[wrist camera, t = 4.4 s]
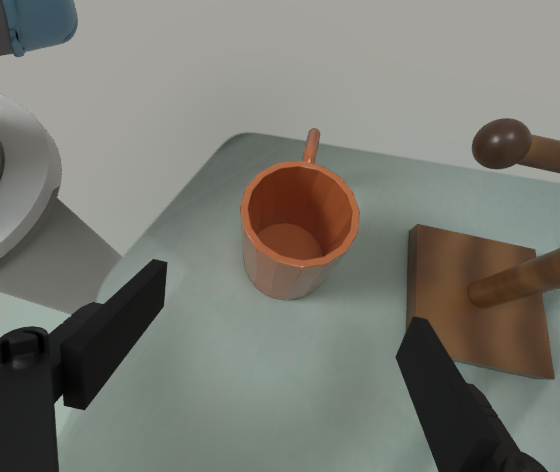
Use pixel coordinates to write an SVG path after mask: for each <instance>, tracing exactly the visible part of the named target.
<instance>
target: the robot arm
mask: <svg viewBox="0 0 560 472" xmlns="http://www.w3.org/2000/svg"><path fill="white" fill-rule="evenodd" d="M77 25H78V19H77V13H76V8H75V4H74V1H73V0H0V56H1V55H7V54H14V56H16V57H21V56H23V55H24V53H25V52H26V51H31V50H36V49H40V48H45V47H49V46H54V45H59V44H62V43H65V42H67V41H69V40H70V39H71V38H72V37H73V36H74V34H75V32H76V29H77ZM4 165H5V154H4V149H3V146H2V143H1V141H0V180H1V177H2V175H3V171H4ZM166 274H167V262H164V261H160V260H155V259H153V260H152V261H150V262H149V263H148V264H147V265H146V266H145V267H144V268H143V269H142V270H141V271H140V272H138V273H137V274H136V275H135V276H134V277H133V278H132V279H131V280H130V281H129V282H127V283H126V284H125V285H124V286H123V287H122V288H121V289H120V290H119V291H118V292H117V293H115V294H114V295H113V296H112V297H111V298H110V299H109V300H108V301H107V302H106V303H105V304H100V303H95V302H92V303H90V304H88V305H85V306H83V307H81V308H80V309H78V310H77V311H76V312H75V313H74V314H72V315H71V317H69V318H68V319H66V320H65V321H64V322H63V324H60V325H59V326H58V327H57V328H56V329H54V330H53V331H52V332H51V333H50V334H48V333H47V331H46V330H45V329H43V328H40V327H34V326H33V327H22V328H19V329H15V330H12V331H10V332H8V333H6V334H4V335H3V336H2V337H1V338H0V472H59V462H58V449H57V435H56V421H55V409H54V404H55V402H56V401H57V400H58V399H59V398H60V397H61V396H62V395H63V401H64V406H68V407H72V408H77V409H81V410H85V409H86V408H87V407H88V405H89V404H90V403H91V401H92V400H93V399H94V398H95V396H96V395H97V394H98V392H99V391H100V390H101V388H102V387H103V386H104V384H105V383H106V382H107V380H108V379H109V378H110V376H111V375H112V374H113V372H114V371H115V370H116V369H117V367H118V366H119V365H120V363H121V362H122V361H123V359H124V358H125V357H126V355H127V354H128V353H129V351H130V350H131V349H132V347H133V346H134V345H135V344H136V342H137V341H138V340H139V338H140V337H141V336H142V334H143V333H144V332H145V330H146V329H147V328H148V326H149V325H150V324H151V322H152V321H153V320H154V319H155V317H156V316H157V315H158V313H159V312H160V311H161V309H162V308H163V307H164V299H165V286H166ZM396 359H397V362H398V365H399V367H400V370H401V373H402V375H403V378H404V381H405V383H406V386H407V389H408V391H409V394H410V397H411V399H412V402H413V405H414V407H415V410H416V413H417V415H418V418H419V421H420V423H421V426H422V428H423V431H424V434H425V436H426V439H427V442H428V444H429V447H430V450H431V452H432V455H433V458H434V460H435V463H436V466H437V468H438V471H439V472H548V471H547V470H546V469H545V468H544V467H543V466H542V465H541V464H540V463H539V462H538V461H536V460H535V459H534V458H533V457H531V456H529V455H527V454H526V453H523V452H521V451H520V450H519V448H518V446H517V445H516V443H515V442H514V440H513V439H512V437H511V436H510V434H509V433H508V431H507V429H506V428H505V426H504V425H503V423H502V422H501V420H500V419H499V418H498V416H497V414H496V412H495V411H494V409H492V406H491V405H490V403H489V402H488V400H487V398H486V397H485V395H484V394H483V393H482V392H481V391H479V390H478V389H477V388H476V387H475V386H474V385H473V384H468V383H466V382H465V380H464V379H463V377H462V375H461V374H460V372H459V370H458V369H457V367H456V365H455V364H454V362H453V361H452V359H451V357H450V356H449V354H448V352H447V351H446V349H445V347H444V346H443V344H442V342H441V341H440V339H439V337H438V336H437V334H436V333H435V331H434V329H433V328H432V326H431V324H430V323H429V321H428V319H425V318H420V317H415V316H413V317H412V320H411V322H410V324H409V327H408V329H407V331H406V334H405V336H404V338H403V341H402V343H401V345H400V348H399V350H398V352H397V355H396Z"/></svg>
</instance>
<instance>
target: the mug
mask: <svg viewBox="0 0 560 472" xmlns="http://www.w3.org/2000/svg"><path fill="white" fill-rule="evenodd" d="M319 138H320V132H319V130H318V129H316V128H313V129H311V130H310V131H309V133H308V137H307V141H306V145H305V149H304V153H303V157H302V161H292V162H283V163H277V164H275V165H273V166H271V167H269V168H267V169H265V170H263V171H261V172H260V173H258V175H257V176H256V177H255V178H254V179H253V180H252V182H251V183H250V184H249V185H248V186H247V187H246V189H245V193H244V196H243V200H242V203H241V207H240V212H241V228H242V245H243V258H244V265H245V270H246V273H247V275H248V277H249V279H250V281H251V282H252V283H253V285H254V286H255V287H256V288H257V289H258V290H260V291H261V292H262V293H264V294H266V295H267V296H270V297H272V298H276V299H280V300H294V299H298V298H301V297H304V296H306V295H308V294H309V293H311V292H312V291H313V290H315V289H316V288H317V287H318V286H319V285H320V284H321V283H322V281H323V280H324V279H325V278H326V276H327V275H328V274H329V273H330V271H331V270H332V269H333V268H334V266H335V265H336V264H337V262H338V261H339V260H340V259H341V257H342V256H343V255H344V254H345V252H346V251H347V250H348V248H349V246H350V245H351V243H352V242H353V240H354V238H355V237H356V235H357V233H358V225H359V215H360V213H359V209H358V206H357V203H356V200H355V197H354V194H353V192H352V191H351V190H350V188H349V187H348V186H347V185H346V184H345V182H344V181H343V180H342V179H341V178H340V177H339V176H338V175H336V174H335V173H333V172H331V171H329V170H328V169H326V168H324V167H323V166H320V165H317V164H315V160H316V154H317V149H318V144H319Z"/></svg>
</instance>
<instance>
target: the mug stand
mask: <svg viewBox="0 0 560 472" xmlns="http://www.w3.org/2000/svg"><path fill="white" fill-rule="evenodd" d="M472 153H473V156H474V158H475V160H476V161H477V162H478V163H480V164H481V165H482V166H484V167H486V168H490V169H504V168H508V167H511V166H513V165H515V164H519V165H524V166H528V167H533V168H538V169H542V170H547V171H552V172H556V173H560V141H559V140H554V139H550V138H545V137H541V136H536V135H531V133H530V131H529V129H528V128H527V127H526V126H525V125H524V124H523V123H522V122H520V121H518V120H515V119H507V118H506V119H498V120H495V121H492V122H490V123H488V124H486V125H485V126H483V127H482V128H481V129H480V130H479V131H478V132H477V134H476V136H475V137H474V140H473V143H472ZM559 288H560V248H559V249H557V250H554V251H552V252H549V253H547V254H544V255H542V256H539V257H537V258H536V252H535V249H531V248H526V247H522V246H517V245H512V244H508V243H503V242H498V241H494V240H489V239H485V238H480V237H475V236H471V235H466V234H461V233H457V232H452V231H448V230H443V229H438V228H434V227H429V226H424V225H420V224H417V225H416V226H415V227H413V228H412V229H411V230H410V231H409V256H408V292H407V328H406V331H407V329H408V327H409V324H410V322H411V320H412V317H413V316H415V317H420V318H425V319H428V321H429V323H430V324H431V326H432V328H433V329H434V331H435V333H436V334H437V336H438V337H439V339H440V341H441V342H442V344H443V346H444V347H445V349H446V351H447V352H448V354H449V356H450V357H451V359H452V361H455V362H460V363H465V364H469V365H474V366H478V367H483V368H488V369H492V370H497V371H502V372H506V373H511V374H516V375H520V376H525V377H529V378H534V379H549V380H554V379H555V377H554V371H553V364H552V357H551V351H550V344H549V338H548V331H547V325H546V318H545V312H544V305H543V298H542V293H544V292H548V291H551V290H555V289H559Z"/></svg>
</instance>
